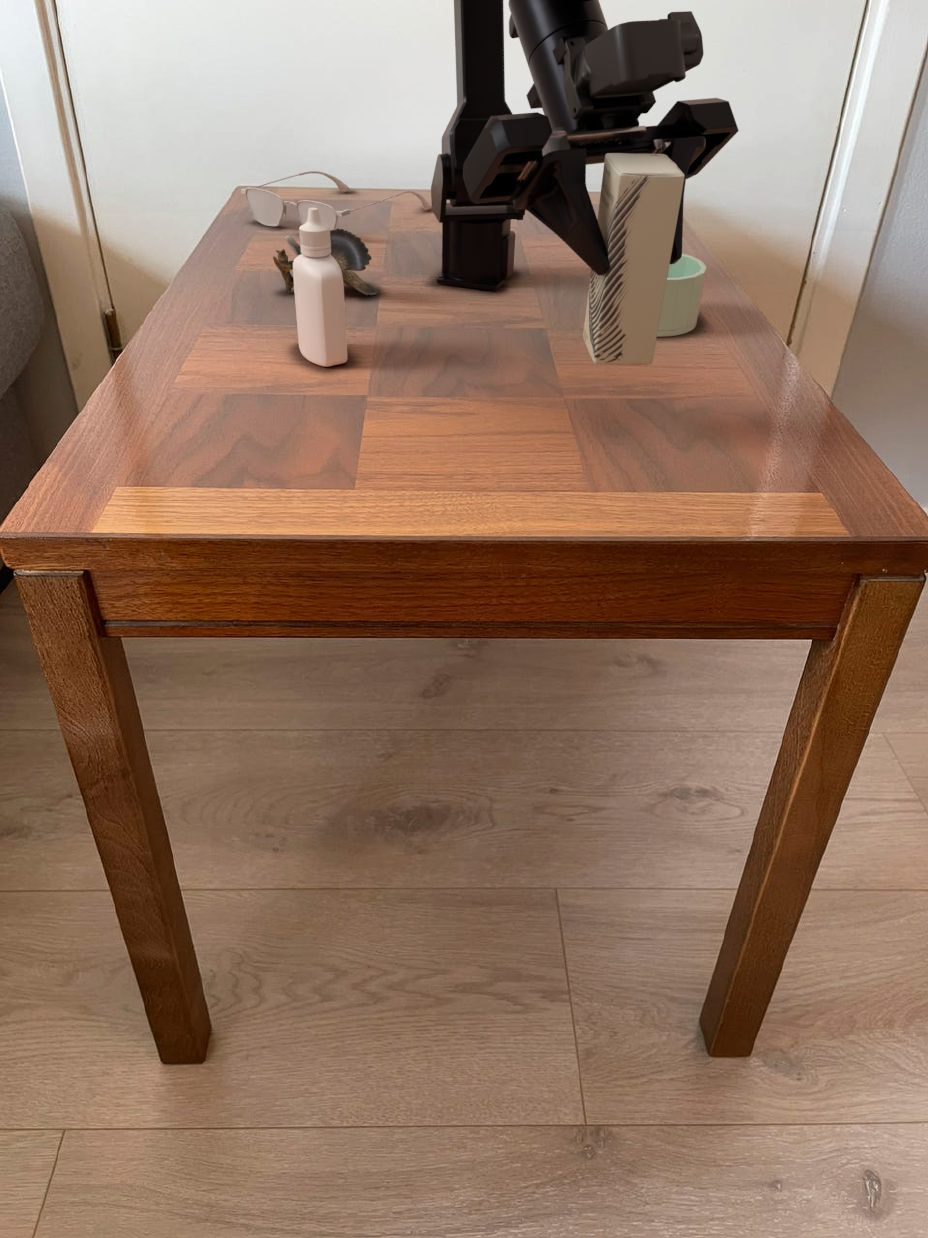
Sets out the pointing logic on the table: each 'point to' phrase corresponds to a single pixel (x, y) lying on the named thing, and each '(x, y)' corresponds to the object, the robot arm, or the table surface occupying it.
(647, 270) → the box
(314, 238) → the eye dropper bottle
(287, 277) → the brown grey figurine
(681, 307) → the bowl
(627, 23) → the robot arm
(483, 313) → the table surface
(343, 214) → the eyeglasses
